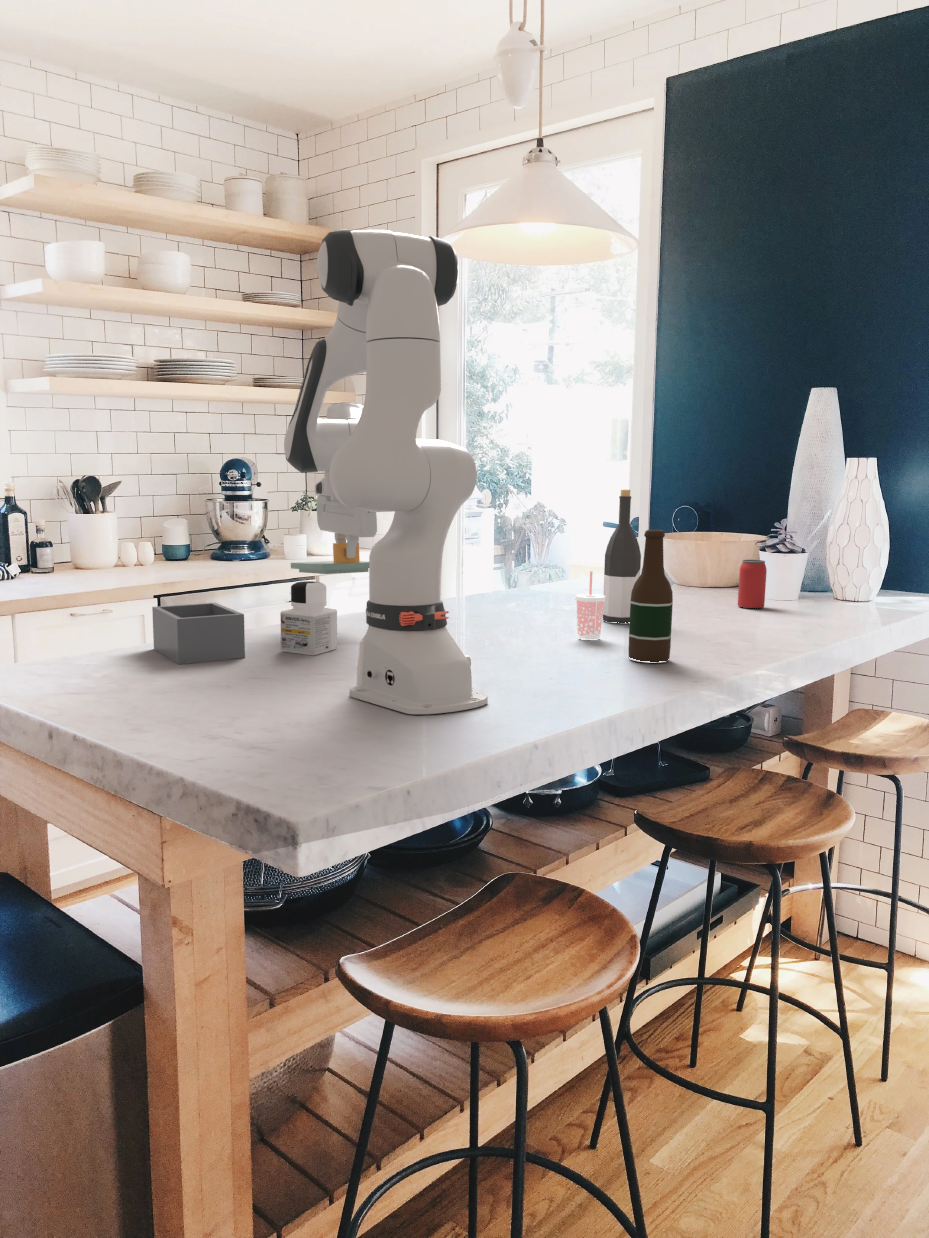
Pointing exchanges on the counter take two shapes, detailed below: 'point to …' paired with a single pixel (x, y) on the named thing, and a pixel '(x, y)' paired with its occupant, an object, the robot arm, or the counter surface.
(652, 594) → the beer bottle
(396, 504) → the robot arm
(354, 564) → the lid
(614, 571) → the wine bottle
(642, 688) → the counter surface
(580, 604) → the beverage cup
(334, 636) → the container
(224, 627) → the tub
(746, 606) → the beer can
